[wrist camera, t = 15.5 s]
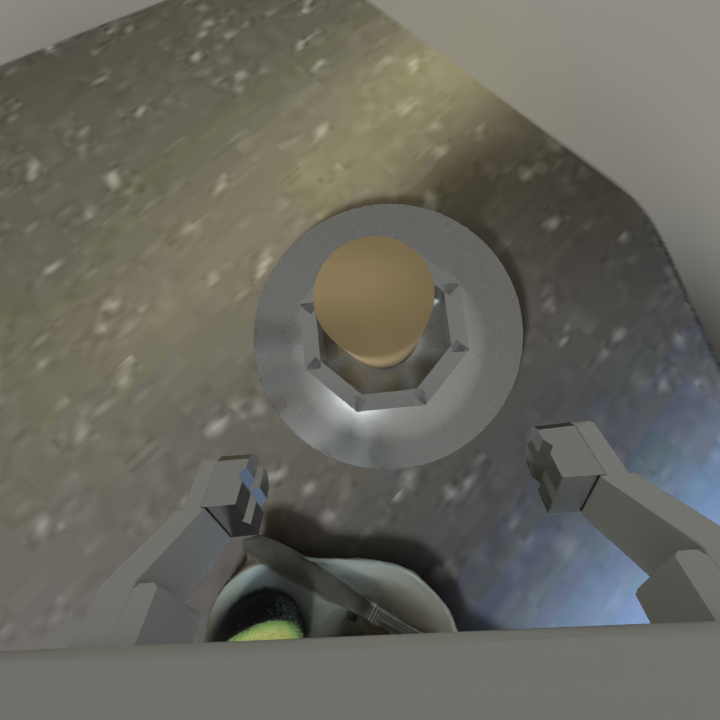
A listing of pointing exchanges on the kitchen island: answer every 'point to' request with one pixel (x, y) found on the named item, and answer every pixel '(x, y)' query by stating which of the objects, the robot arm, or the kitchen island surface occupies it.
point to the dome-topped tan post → (375, 299)
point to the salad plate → (321, 598)
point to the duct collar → (409, 379)
